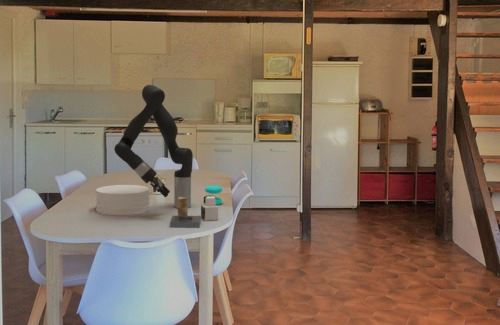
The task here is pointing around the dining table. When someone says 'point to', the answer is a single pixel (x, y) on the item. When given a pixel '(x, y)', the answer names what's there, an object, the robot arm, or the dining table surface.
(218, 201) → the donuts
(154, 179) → the robot arm
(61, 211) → the dining table surface
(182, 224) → the socket plate
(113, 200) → the plate stack
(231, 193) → the dining table surface
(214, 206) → the medicine bottle
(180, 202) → the square peg
